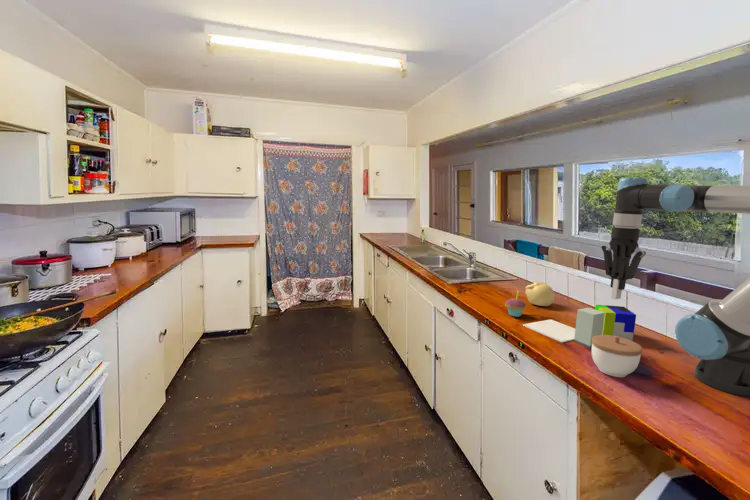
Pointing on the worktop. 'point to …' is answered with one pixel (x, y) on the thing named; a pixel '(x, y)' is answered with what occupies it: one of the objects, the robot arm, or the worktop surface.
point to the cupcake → (515, 306)
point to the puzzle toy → (618, 321)
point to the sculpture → (540, 294)
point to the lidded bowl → (615, 355)
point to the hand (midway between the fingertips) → (615, 298)
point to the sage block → (588, 326)
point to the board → (553, 330)
